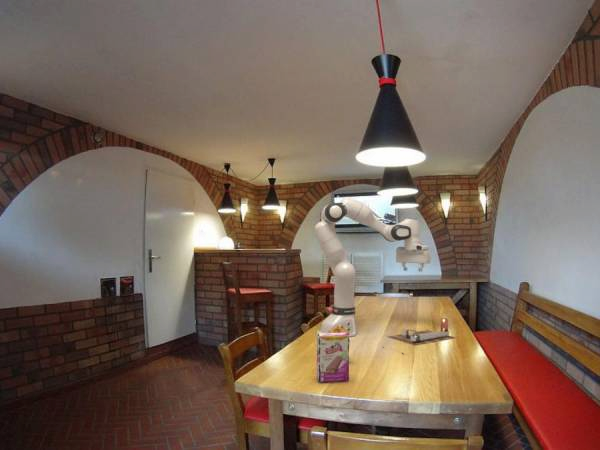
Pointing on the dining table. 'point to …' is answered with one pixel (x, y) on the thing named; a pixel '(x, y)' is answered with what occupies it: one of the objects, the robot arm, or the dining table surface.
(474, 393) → the dining table surface
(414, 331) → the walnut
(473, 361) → the dining table surface
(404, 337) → the nutcracker base
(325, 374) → the candy bar box
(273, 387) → the dining table surface
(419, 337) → the lever
